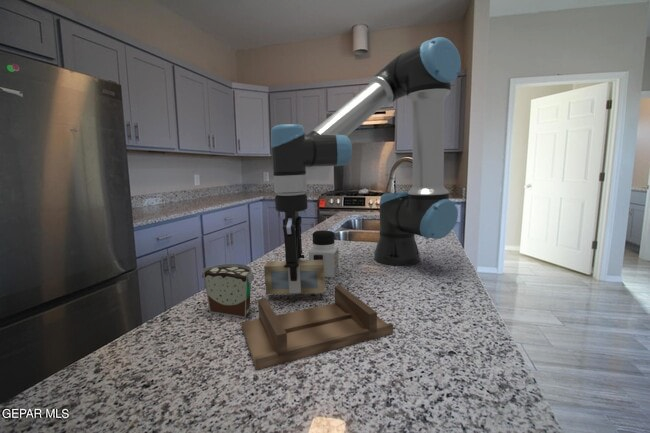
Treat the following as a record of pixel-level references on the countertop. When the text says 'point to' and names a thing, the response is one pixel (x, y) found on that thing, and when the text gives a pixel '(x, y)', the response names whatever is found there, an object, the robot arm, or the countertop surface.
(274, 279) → the tan rectangular block
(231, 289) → the food container
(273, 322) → the wooden slatted panel
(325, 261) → the container
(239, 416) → the countertop surface
